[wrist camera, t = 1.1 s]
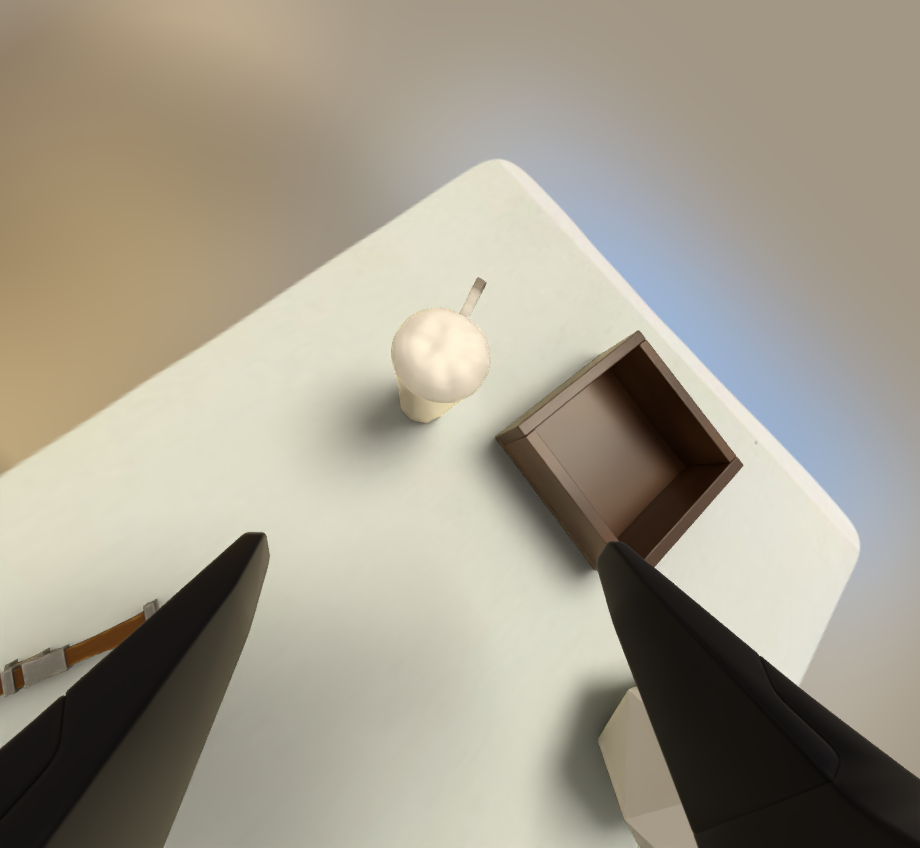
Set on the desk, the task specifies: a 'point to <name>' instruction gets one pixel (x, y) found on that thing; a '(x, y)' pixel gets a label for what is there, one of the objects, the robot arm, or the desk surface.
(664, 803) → the die
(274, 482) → the desk surface
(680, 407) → the open box
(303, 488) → the desk surface
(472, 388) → the milkshake
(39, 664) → the wooden post with brackets
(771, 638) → the desk surface
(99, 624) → the desk surface
